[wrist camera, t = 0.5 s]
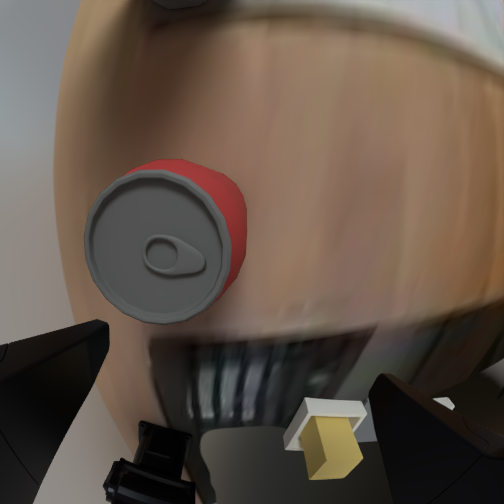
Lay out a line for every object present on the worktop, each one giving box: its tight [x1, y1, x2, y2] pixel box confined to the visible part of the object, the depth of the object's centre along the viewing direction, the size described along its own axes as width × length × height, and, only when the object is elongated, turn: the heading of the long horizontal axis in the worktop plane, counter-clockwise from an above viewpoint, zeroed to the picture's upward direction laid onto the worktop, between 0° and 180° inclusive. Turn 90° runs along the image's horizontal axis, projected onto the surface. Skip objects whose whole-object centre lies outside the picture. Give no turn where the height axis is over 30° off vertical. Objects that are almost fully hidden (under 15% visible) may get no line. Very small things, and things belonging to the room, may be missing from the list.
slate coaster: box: [354, 398, 377, 442], centre depth 27 cm, size 8×8×1 cm
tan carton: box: [300, 416, 363, 480], centre depth 22 cm, size 4×4×7 cm
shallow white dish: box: [283, 398, 367, 451], centre depth 25 cm, size 7×7×2 cm
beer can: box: [84, 159, 247, 325], centre depth 15 cm, size 7×7×12 cm
